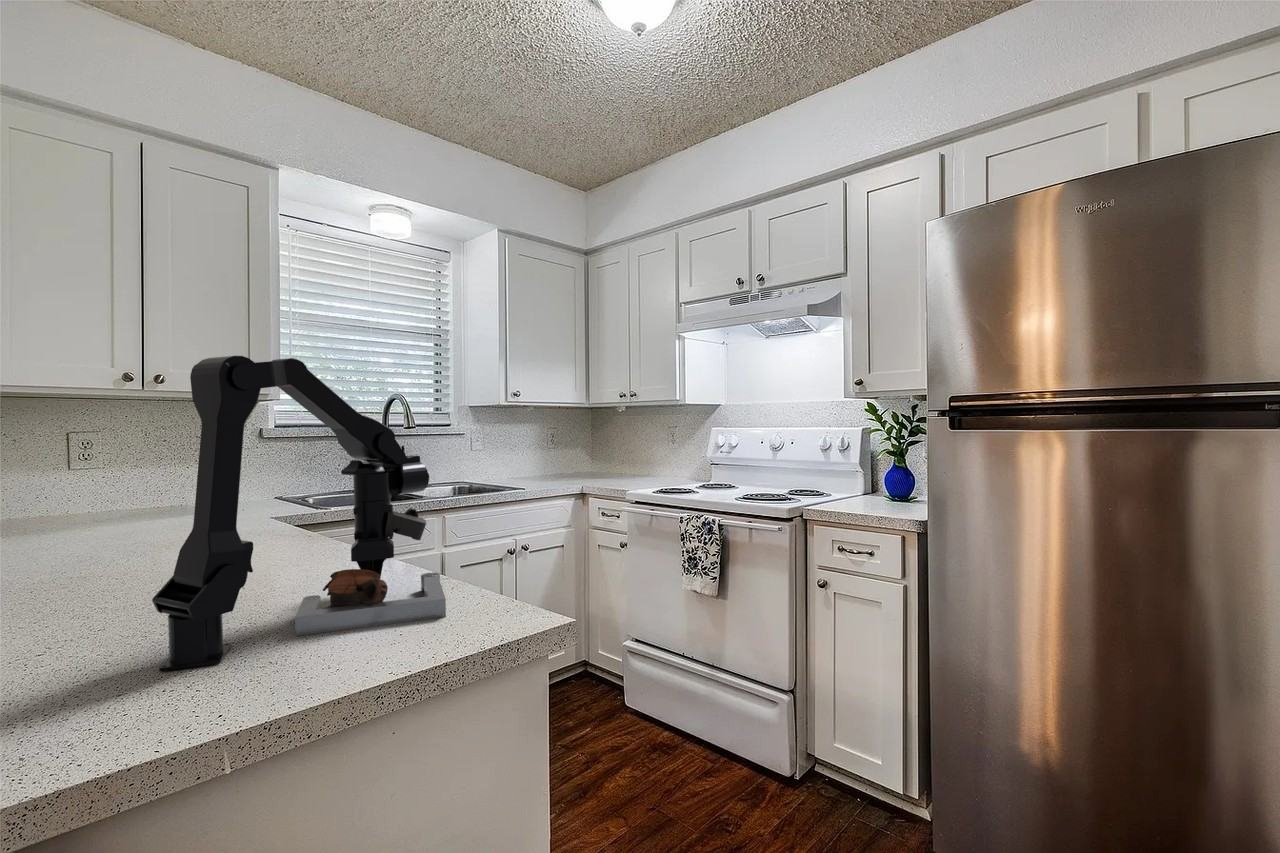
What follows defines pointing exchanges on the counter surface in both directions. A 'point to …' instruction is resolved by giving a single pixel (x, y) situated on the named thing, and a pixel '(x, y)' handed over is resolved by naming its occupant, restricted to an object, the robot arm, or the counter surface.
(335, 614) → the hook
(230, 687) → the counter surface
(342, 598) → the pottery mug
